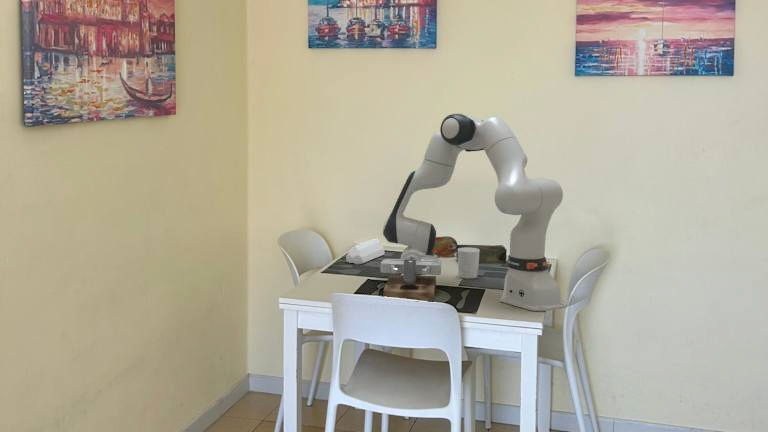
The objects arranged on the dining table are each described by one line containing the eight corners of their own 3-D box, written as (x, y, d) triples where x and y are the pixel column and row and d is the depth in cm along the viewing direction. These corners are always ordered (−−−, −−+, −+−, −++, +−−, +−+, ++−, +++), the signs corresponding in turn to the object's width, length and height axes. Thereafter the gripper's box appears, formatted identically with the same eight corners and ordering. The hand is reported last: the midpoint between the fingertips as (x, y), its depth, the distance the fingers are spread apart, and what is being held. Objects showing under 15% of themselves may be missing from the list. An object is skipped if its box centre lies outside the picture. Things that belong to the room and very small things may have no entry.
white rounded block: (366, 243, 353) (339, 253, 331) (380, 236, 350) (353, 245, 328) (374, 259, 352) (347, 270, 331) (388, 252, 349) (362, 263, 328)
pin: (417, 297, 279) (418, 261, 278) (406, 298, 278) (407, 262, 276) (412, 294, 283) (412, 258, 281) (401, 295, 281) (401, 259, 279)
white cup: (477, 279, 306) (478, 252, 304) (455, 278, 307) (456, 251, 306) (479, 275, 314) (480, 248, 312) (458, 273, 315) (458, 247, 314)
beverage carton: (506, 264, 334) (507, 247, 333) (457, 264, 334) (458, 247, 333) (503, 260, 342) (504, 243, 341) (455, 260, 341) (455, 243, 340)
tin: (421, 258, 343) (422, 237, 341) (419, 256, 346) (420, 236, 344) (457, 257, 346) (458, 236, 345) (455, 255, 349) (455, 235, 348)
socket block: (435, 284, 297) (436, 276, 297) (433, 301, 274) (433, 292, 273) (389, 283, 299) (389, 274, 298) (383, 300, 275) (383, 291, 275)
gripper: (381, 253, 294) (377, 261, 280) (441, 255, 292) (440, 263, 278) (381, 271, 295) (377, 280, 281) (441, 273, 293) (440, 282, 279)
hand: (409, 272), depth 280 cm, fingers open, 8 cm apart
